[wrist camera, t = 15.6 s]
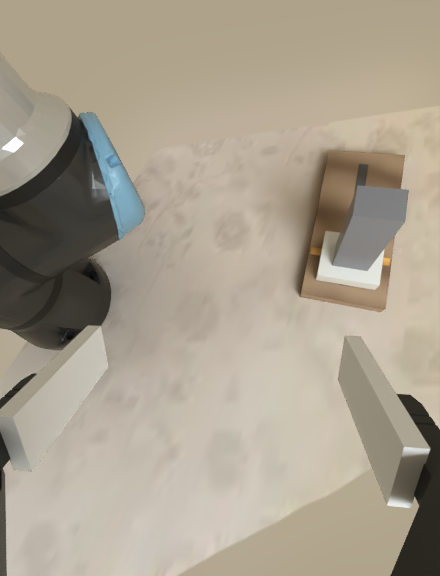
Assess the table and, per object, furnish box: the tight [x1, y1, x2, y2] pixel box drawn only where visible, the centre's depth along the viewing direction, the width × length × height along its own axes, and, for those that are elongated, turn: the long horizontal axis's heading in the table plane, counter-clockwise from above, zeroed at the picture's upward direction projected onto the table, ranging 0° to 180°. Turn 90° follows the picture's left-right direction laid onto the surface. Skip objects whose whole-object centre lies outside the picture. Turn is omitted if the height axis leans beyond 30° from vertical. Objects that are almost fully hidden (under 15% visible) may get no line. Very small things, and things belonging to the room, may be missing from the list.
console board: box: [300, 150, 405, 312], centre depth 41 cm, size 22×10×2 cm, turn 165°
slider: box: [316, 185, 409, 290], centre depth 32 cm, size 6×7×14 cm
